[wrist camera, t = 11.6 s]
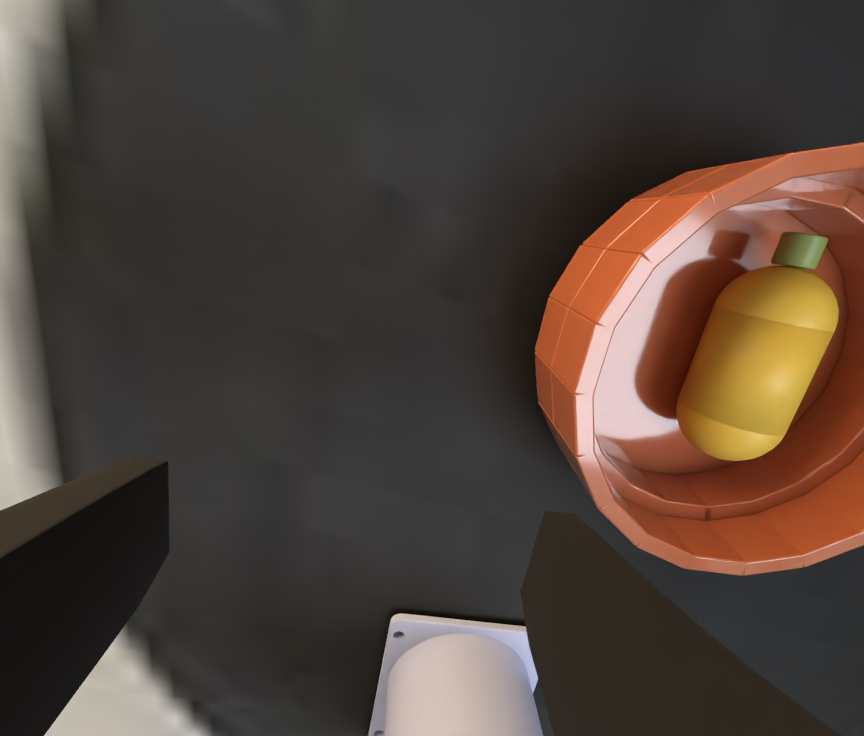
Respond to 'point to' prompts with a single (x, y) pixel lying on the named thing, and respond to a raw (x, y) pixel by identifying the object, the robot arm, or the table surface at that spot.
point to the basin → (674, 351)
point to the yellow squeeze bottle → (759, 354)
